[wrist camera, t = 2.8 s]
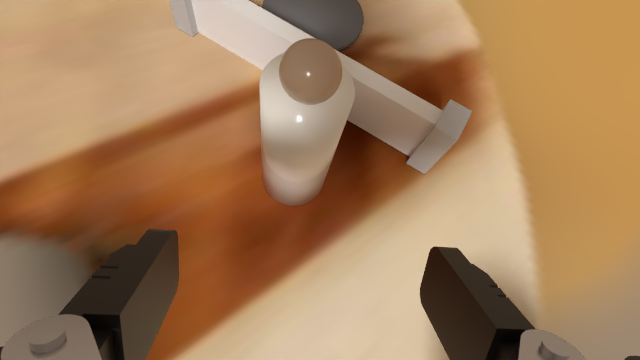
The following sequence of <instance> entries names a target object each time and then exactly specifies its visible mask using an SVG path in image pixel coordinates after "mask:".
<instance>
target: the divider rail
mask: <svg viewBox="0 0 640 360" xmlns="http://www.w3.org/2000/svg"><path fill="white" fill-rule="evenodd" d="M169 2H170V5H171V9H172V12H173V16H174V19H175V23H176V26H177V28H178V29H180V30H182V31H183V32H185V33H187V34H189V35H190V36H192V37H194V36H195V35H196V34H197V33H198V32H199V33H200V34H202V35H204V36H205V37H207V38H209V39H210V40H212V41H214V42H216V43H217V44H219V45H221V46H222V47H224V48H226V49H227V50H229V51H231V52H233V53H234V54H236V55H238V56H239V57H241V58H243V59H244V60H246V61H248V62H249V63H251V64H253V65H255V66H256V67H258V68H260V69H261V70H264V68H265V66H266V65H267V64H268V63H269V62H270V61H271V60H272V59H273V58H275V57H276V56H278V55H280V54H282V53H284V52H285V51H286V50H287V48H288V47H289V46H290V45H292V44H293V43H295V42H297V41H299V40H302V39H306V38H314V37H312V36H310V35H309V34H307V33H305V32H303V31H302V30H300V29H298V28H296V27H294V26H293V25H291V24H289V23H287V22H286V21H284V20H282V19H280V18H279V17H277V16H275V15H273V14H272V13H270V12H268V11H266V10H265V9H263V8H261V7H259V6H257V5H256V4H254V3H252V2H250V1H249V0H169ZM314 39H316V38H314ZM334 50H335V49H334ZM335 51H336V53H337V54H338V56H339V58H340V61H341V64H342V65H343V66H344V67H345V68H346V69H347V70H348V72H349V73H350V75H351V77H352V79H353V82H354V85H355V98H354V102H353V105H352V108H351V110H350V113H349V116H348V118H347V120H348V121H350V122H351V123H353V124H355V125H356V126H358V127H360V128H361V129H363V130H365V131H367V132H368V133H370V134H372V135H373V136H375V137H377V138H378V139H380V140H382V141H384V142H385V143H387V144H389V145H390V146H392V147H394V148H395V149H397V150H399V151H401V152H402V153H404V154H406V155H407V156H409V158H408V160H407V162H406V164H408V165H410V166H411V167H413V168H415V169H416V170H418V171H420V172H422V173H423V174H425V173H426V172H427V171H428V170H429V169H430V168H431V167H432V166H433V165H434V164H435V163H436V162H437V161H438V160H439V159H440V158H441V157H442V156H443V155H444V154H445V153H446V152H447V151H448V150H449V149H450V148H451V147H452V146H453V145H454V144H455V143H456V142H457V141H458V139H459V137H460V135H461V133H462V131H463V129H464V127H465V125H466V123H467V121H468V119H469V117H470V115H471V113H472V111H471V110H469V109H467V108H465V107H464V106H462V105H460V104H458V103H457V102H455V101H453V100H451V99H450V100H449V101H448V103H447V104H446V105H445V107H444V108H443V109H442V110H441V109H439V108H437V107H436V106H434V105H432V104H430V103H429V102H427V101H425V100H423V99H421V98H420V97H418V96H416V95H414V94H413V93H411V92H409V91H407V90H406V89H404V88H402V87H400V86H399V85H397V84H395V83H393V82H391V81H390V80H388V79H386V78H384V77H383V76H381V75H379V74H377V73H376V72H374V71H372V70H370V69H369V68H367V67H365V66H363V65H362V64H360V63H358V62H356V61H354V60H353V59H351V58H349V57H347V56H346V55H344V54H342V53H340V52H339V51H337V50H335Z"/></svg>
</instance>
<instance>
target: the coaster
mask: <svg viewBox="0 0 640 360" xmlns="http://www.w3.org/2000/svg"><path fill="white" fill-rule="evenodd" d="M263 9H265V10H266V11H268V12H270V13H272V14H273V15H275V16H277V17H279V18H280V19H282V20H284V21H286V22H287V23H289V24H291V25H293V26H294V27H296V28H298V29H300V30H302V31H303V32H305V33H307V34H309V35H310V36H312V37H314V38H316V39H319V40H322V41H324V42H326V43H327V44H329V45H330V46H331V47H332V48H333V49H335V50H337V51H341V50H344V49H346V48H347V47H349V46H350V45H352V44H353V43H354V42H355V41H356V39H357V38H358V36H359V34H360V32H361V29H362V26H363V12H362V9H361V6H360V4H359V3H358V1H357V0H264V1H263Z"/></svg>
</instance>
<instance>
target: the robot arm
mask: <svg viewBox="0 0 640 360" xmlns="http://www.w3.org/2000/svg"><path fill="white" fill-rule="evenodd" d="M178 281H179V257H178V235H177V232H176V231H175V230H162V229H148V230H147V231H146V233H145V234H144V235H143V236H142V238H141V239H140V240H139V241H138V243H137V244H136V245H129V244H127V245H125V246H124V247H122V248H120V249H119V250H117V251H115V252H113V253H112V254H110V256H109V257H108V258H107V259H106V260H105V261H104V263H103V264H102V265H101V267H100V268H98V269H97V271H96V272H95V273H94V274H93V275H92V278H91V279H89V280H88V281H87V282H86V283H85V284H84V286H83V287H82V288H81V289H80V290H79V291H78V293H77V294H76V295H75V296H74V297H73V298H72V299H71V301H70V302H69V303H68V304H67V305H66V306H65V308H64V309H63V310H62V311H61V312H60V314H58V315H56V316H50V317H47V318H43V319H41V320H38V321H36V322H34V323H31V324H29V325H27V326H26V327H24V328H22V329H21V330H20V331H18V332H17V333H15V334H14V335H13V336H12V337H11V338H10V339H9V340H8V341H7V342H6V344H5V345H4V346H3V347H0V360H145V359H146V357H147V355H148V352H149V350H150V348H151V346H152V344H153V342H154V340H155V337H156V335H157V333H158V331H159V329H160V327H161V324H162V322H163V320H164V318H165V316H166V314H167V311H168V309H169V307H170V305H171V303H172V301H173V299H174V296H175V294H176V291H177V287H178ZM420 298H421V303H422V306H423V308H424V310H425V312H426V314H427V316H428V318H429V320H430V322H431V324H432V326H433V327H434V329H435V331H436V333H437V335H438V337H439V339H440V341H441V343H442V345H443V347H444V349H445V351H446V353H447V355H448V357H449V359H450V360H586V359H585V357H584V356H583V355H582V354H581V353H580V352H579V351H578V350H577V349H576V348H575V347H574V346H572V345H571V344H570V343H568V342H567V341H565V340H564V339H562V338H560V337H558V336H556V335H554V334H552V333H549V332H546V331H542V330H536V329H535V328H534V327H533V326H532V325H531V324H530V322H529V321H528V320H527V319H526V318H525V317H524V315H523V314H522V313H521V312H520V311H519V310H518V309H517V307H516V306H515V305H514V304H513V303H512V302H511V301H510V299H509V298H506V295H505V294H504V292H503V291H502V290H501V289H500V288H498V286H497V284H496V283H495V282H494V281H493V280H492V279H491V278H490V276H489V275H488V274H487V273H485V272H484V271H482V270H481V269H479V268H478V267H477V266H475V265H474V264H471V263H470V262H469V261H468V260H467V258H466V257H465V256H464V255H463V254H462V252H461V251H460V250H459V249H457V248H449V247H433V248H432V249H431V250H430V252H429V256H428V260H427V264H426V267H425V271H424V275H423V279H422V283H421V287H420ZM625 360H640V356H629V357H627V358H625Z"/></svg>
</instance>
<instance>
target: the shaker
mask: <svg viewBox="0 0 640 360" xmlns="http://www.w3.org/2000/svg"><path fill="white" fill-rule="evenodd" d="M354 98H355V85H354V82H353V79H352V77H351V75H350V73H349V72H348V70H347V69H346V68H345V67H344V66H343V65H342V64H341V61H340V58H339V56H338V54H337V53H336V51H335V50H334V49H333V48H332V47H331V46H330V45H329V44H327V43H326V42H324V41H322V40H319V39H314V38H306V39H302V40H299V41H297V42H295V43H293V44H292V45H290V46H289V47H288V48H287V50H286V51H285V52H284V53H282V54H280V55H278V56H276V57H275V58H273V59H272V60H271V61H270V62H269V63H268V64H267V65H266V66H265V68H264V70H263V71H262V74H261V77H260V117H261V152H262V180H263V185H264V188H265V190H266V191H267V193H268V194H269V195H270V196H271V197H272V198H273V199H274V200H276V201H277V202H279V203H282V204H285V205H289V206H298V205H303V204H306V203H308V202H310V201H311V200H313V199H314V198H315V197H316V196H317V195H318V194H319V192H320V190H321V188H322V186H323V183H324V180H325V177H326V175H327V172H328V169H329V167H330V164H331V161H332V159H333V156H334V153H335V151H336V148H337V145H338V143H339V140H340V137H341V134H342V132H343V129H344V126H345V124H346V121H347V118H348V116H349V113H350V110H351V108H352V105H353V102H354Z"/></svg>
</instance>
